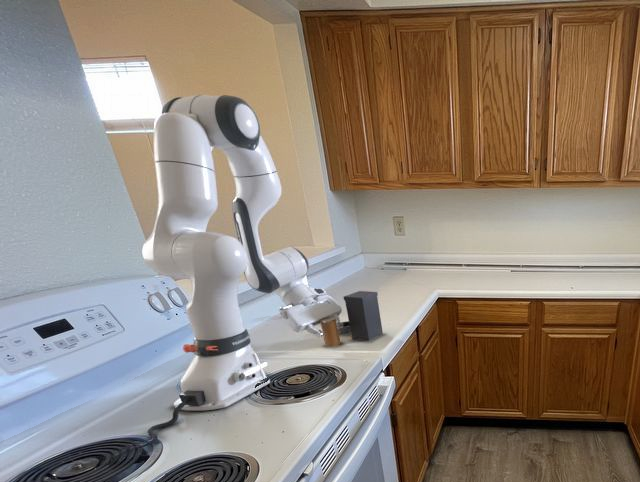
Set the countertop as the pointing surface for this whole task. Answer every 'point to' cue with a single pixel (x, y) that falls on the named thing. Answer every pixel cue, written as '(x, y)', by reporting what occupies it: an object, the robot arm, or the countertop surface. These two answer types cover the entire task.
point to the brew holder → (345, 328)
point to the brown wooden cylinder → (330, 331)
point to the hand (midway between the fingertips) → (331, 331)
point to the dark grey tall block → (363, 315)
